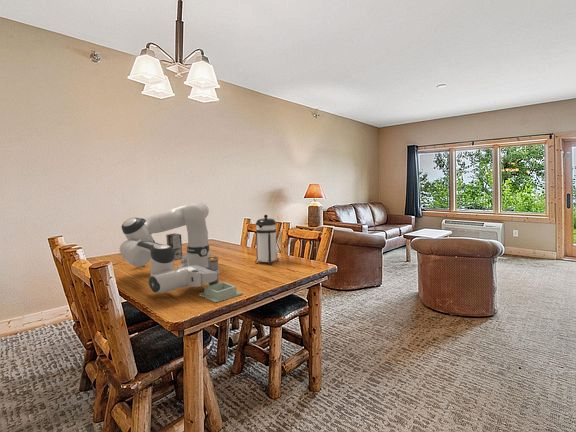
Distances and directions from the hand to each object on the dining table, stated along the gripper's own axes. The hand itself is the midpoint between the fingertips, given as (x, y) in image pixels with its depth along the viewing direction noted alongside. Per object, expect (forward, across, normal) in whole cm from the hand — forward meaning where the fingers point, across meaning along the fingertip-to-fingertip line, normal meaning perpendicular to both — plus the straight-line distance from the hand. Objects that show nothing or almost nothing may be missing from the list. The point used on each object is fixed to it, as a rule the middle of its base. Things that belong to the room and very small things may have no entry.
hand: (215, 269), depth 149 cm
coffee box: (+12, -70, -8) cm, 72 cm away
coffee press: (+47, -16, -8) cm, 50 cm away
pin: (-1, 0, -8) cm, 8 cm away
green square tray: (-5, +12, -8) cm, 15 cm away
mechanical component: (-11, -63, -8) cm, 64 cm away
